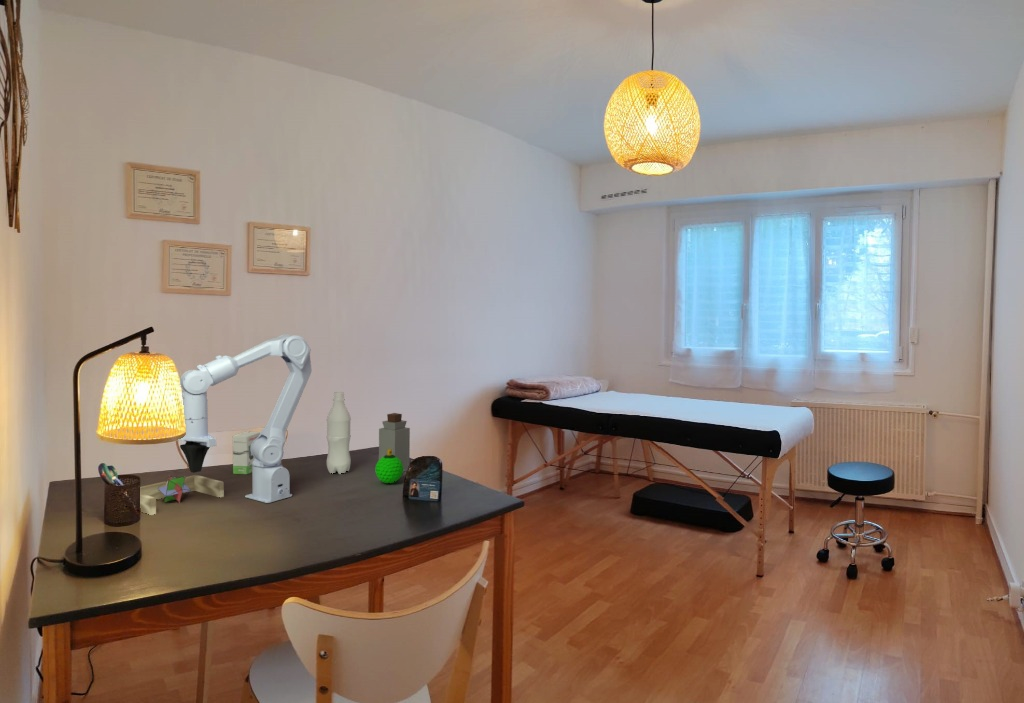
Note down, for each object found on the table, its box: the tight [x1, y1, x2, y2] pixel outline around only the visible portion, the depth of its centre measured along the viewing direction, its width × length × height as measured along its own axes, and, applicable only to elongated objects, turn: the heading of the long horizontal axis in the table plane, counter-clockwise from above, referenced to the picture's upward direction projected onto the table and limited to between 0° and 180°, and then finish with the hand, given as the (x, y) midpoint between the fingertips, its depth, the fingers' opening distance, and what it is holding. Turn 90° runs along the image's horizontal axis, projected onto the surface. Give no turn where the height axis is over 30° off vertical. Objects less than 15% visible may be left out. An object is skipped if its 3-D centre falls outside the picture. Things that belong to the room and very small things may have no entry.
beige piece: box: [139, 474, 225, 516], centre depth 163 cm, size 13×19×4 cm, turn 148°
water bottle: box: [326, 391, 352, 475], centre depth 195 cm, size 7×7×25 cm
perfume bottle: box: [378, 412, 411, 470], centre depth 199 cm, size 7×7×18 cm
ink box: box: [232, 430, 261, 475], centre depth 195 cm, size 9×5×12 cm, turn 173°
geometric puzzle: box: [157, 475, 192, 504], centre depth 163 cm, size 7×7×8 cm
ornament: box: [374, 449, 404, 484], centre depth 184 cm, size 8×8×10 cm
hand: (195, 471), depth 158 cm, fingers closed
